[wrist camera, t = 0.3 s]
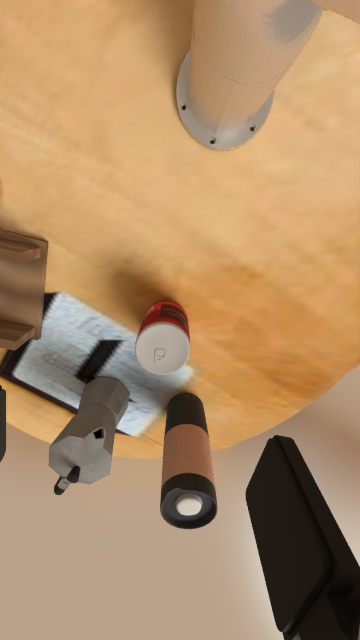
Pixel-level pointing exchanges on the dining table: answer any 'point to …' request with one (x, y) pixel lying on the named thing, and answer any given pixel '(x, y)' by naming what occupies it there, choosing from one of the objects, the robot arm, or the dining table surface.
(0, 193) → the beer glass
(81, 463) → the coffeepot
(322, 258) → the dining table surface
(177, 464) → the travel mug
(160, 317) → the canned food
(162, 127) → the dining table surface
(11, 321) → the holder
